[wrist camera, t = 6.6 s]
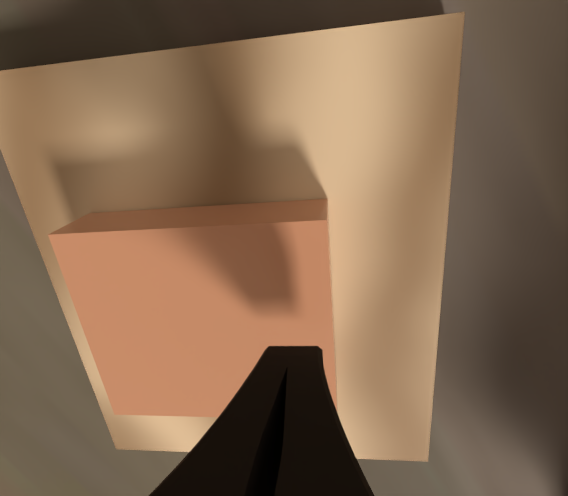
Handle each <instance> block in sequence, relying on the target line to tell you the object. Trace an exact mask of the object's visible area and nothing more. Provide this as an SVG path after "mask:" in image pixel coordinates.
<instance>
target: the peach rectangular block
mask: <svg viewBox="0 0 568 496" xmlns="http://www.w3.org/2000/svg"><path fill="white" fill-rule="evenodd" d="M48 236H49V239H50V242H51V245H52V247H53V250H54V253H55V255H56V258H57V261H58V263H59V266H60V269H61V272H62V274H63V277H64V280H65V282H66V285H67V288H68V290H69V293H70V296H71V299H72V301H73V304H74V307H75V309H76V312H77V315H78V317H79V320H80V323H81V326H82V328H83V331H84V334H85V336H86V339H87V342H88V344H89V347H90V350H91V353H92V355H93V358H94V361H95V363H96V366H97V369H98V371H99V374H100V377H101V380H102V382H103V385H104V388H105V390H106V393H107V396H108V399H109V401H110V404H111V407H112V409H113V412H114V415H147V416H187V417H219V416H220V414H221V413H222V412H223V410H224V409H225V408H226V406H227V405H228V404H229V402H230V401H231V400H232V398H233V397H234V395H235V394H236V393H237V391H238V390H239V389H240V387H241V386H242V384H243V383H244V381H245V380H246V379H247V377H248V376H249V374H250V373H251V371H252V370H253V368H254V367H255V365H256V363H257V362H258V360H259V359H260V357H261V355H262V354H263V352H264V351H265V349H266V348H267V347H268V346H319V347H320V348H321V349H322V350H323V365H324V371H325V375H326V379H327V383H328V387H329V390H330V393H331V396H332V399H333V402H334V405H335V408H336V411H337V372H336V352H335V333H334V313H333V293H332V273H331V253H330V233H329V214H328V199H313V200H296V201H280V202H263V203H247V204H230V205H214V206H197V207H181V208H165V209H148V210H132V211H115V212H99V213H89V214H87V215H85V216H83V217H81V218H79V219H77V220H75V221H73V222H71V223H69V224H67V225H65V226H64V227H62V228H60V229H58V230H56V231H54V232H52V233H50V234H48ZM337 413H338V412H337Z"/></svg>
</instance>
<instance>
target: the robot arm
mask: <svg viewBox="0 0 568 496" xmlns="http://www.w3.org/2000/svg"><path fill="white" fill-rule="evenodd" d="M149 496H374V494H373V492H372V490H371V488H370V486H369V484H368V482H367V480H366V478H365V476H364V474H363V472H362V470H361V468H360V466H359V464H358V461H357V459H356V457H355V455H354V453H353V450H352V448H351V446H350V443H349V441H348V439H347V436H346V434H345V432H344V429H343V427H342V424H341V422H340V419H339V416H338V413H337V411H336V408H335V405H334V402H333V399H332V396H331V393H330V390H329V387H328V383H327V379H326V375H325V371H324V365H323V350H322V349H321V348H320V347H319V346H268V347H267V348H266V349H265V351H264V352H263V354H262V355H261V357H260V359H259V360H258V362H257V363H256V365H255V367H254V368H253V370H252V371H251V373H250V374H249V376H248V377H247V379H246V380H245V381H244V383H243V384H242V386H241V387H240V389H239V390H238V391H237V393H236V394H235V395H234V397H233V398H232V400H231V401H230V402H229V404H228V405H227V406H226V408H225V409H224V410H223V412H222V413H221V414H220V416H219V417H218V418H217V419H216V421H215V422H214V423H213V424H212V426H211V427H210V428H209V429H208V430H207V432H206V433H205V434H204V435H203V437H202V438H201V439H200V440H199V442H198V443H197V444H196V445H195V446H194V447H193V449H192V450H191V451H190V452H189V453H188V454H187V455H186V457H185V458H184V459H183V460H182V461H181V462H180V463H179V464H178V466H177V467H176V468H175V469H174V470H173V471H172V472H171V473H170V474H169V475H168V476H167V477H166V478H165V479H164V480H163V482H162V483H161V484H160V485H159V486H158V487H157V488H156V489H155V490H154V491H153V492H152V493H151V494H150V495H149Z"/></svg>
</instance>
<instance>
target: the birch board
mask: <svg viewBox="0 0 568 496" xmlns="http://www.w3.org/2000/svg"><path fill="white" fill-rule="evenodd" d="M464 16H465V12H460V13H452V14H444V15H436V16H429V17H421V18H413V19H405V20H397V21H389V22H381V23H373V24H365V25H357V26H350V27H342V28H334V29H326V30H318V31H310V32H302V33H294V34H286V35H278V36H270V37H263V38H255V39H247V40H239V41H231V42H223V43H215V44H207V45H199V46H192V47H184V48H176V49H168V50H160V51H152V52H144V53H136V54H128V55H120V56H112V57H105V58H97V59H89V60H81V61H73V62H65V63H57V64H49V65H41V66H34V67H26V68H18V69H10V70H2V71H0V149H1V152H2V154H3V157H4V159H5V162H6V165H7V167H8V170H9V172H10V175H11V178H12V180H13V183H14V185H15V188H16V190H17V193H18V196H19V198H20V201H21V203H22V206H23V209H24V211H25V214H26V216H27V219H28V221H29V224H30V227H31V229H32V232H33V234H34V237H35V240H36V242H37V245H38V247H39V250H40V253H41V255H42V258H43V260H44V263H45V265H46V268H47V271H48V273H49V276H50V278H51V281H52V284H53V286H54V289H55V291H56V294H57V297H58V299H59V302H60V304H61V307H62V309H63V312H64V315H65V317H66V320H67V322H68V325H69V328H70V330H71V333H72V335H73V338H74V341H75V343H76V346H77V348H78V351H79V353H80V356H81V359H82V361H83V364H84V366H85V369H86V372H87V374H88V377H89V379H90V382H91V385H92V387H93V390H94V392H95V395H96V397H97V400H98V403H99V405H100V408H101V410H102V413H103V416H104V418H105V421H106V423H107V426H108V428H109V431H110V434H111V436H112V439H113V441H114V444H115V447H116V449H128V450H153V451H178V452H190V451H191V450H192V449H193V447H194V446H195V445H196V444H197V443H198V442H199V440H200V439H201V438H202V437H203V435H204V434H205V433H206V432H207V430H208V429H209V428H210V427H211V426H212V424H213V423H214V422H215V421H216V419H217V418H218V417H187V416H147V415H114V412H113V409H112V407H111V404H110V401H109V399H108V396H107V393H106V390H105V388H104V385H103V382H102V380H101V377H100V374H99V371H98V369H97V366H96V363H95V361H94V358H93V355H92V353H91V350H90V347H89V344H88V342H87V339H86V336H85V334H84V331H83V328H82V326H81V323H80V320H79V317H78V315H77V312H76V309H75V307H74V304H73V301H72V299H71V296H70V293H69V290H68V288H67V285H66V282H65V280H64V277H63V274H62V272H61V269H60V266H59V263H58V261H57V258H56V255H55V253H54V250H53V247H52V245H51V242H50V239H49V236H48V234H50V233H52V232H54V231H56V230H58V229H60V228H62V227H64V226H65V225H67V224H69V223H71V222H73V221H75V220H77V219H79V218H81V217H83V216H85V215H87V214H89V213H99V212H115V211H132V210H148V209H165V208H181V207H197V206H214V205H230V204H247V203H263V202H280V201H296V200H313V199H328V214H329V233H330V253H331V273H332V293H333V313H334V333H335V352H336V372H337V412H338V416H339V419H340V422H341V424H342V427H343V429H344V432H345V434H346V436H347V439H348V441H349V443H350V446H351V448H352V450H353V453H354V455H355V457H356V459H380V460H405V461H428V453H429V441H430V429H431V417H432V404H433V392H434V380H435V368H436V356H437V344H438V332H439V319H440V307H441V295H442V283H443V271H444V259H445V247H446V234H447V222H448V210H449V198H450V186H451V174H452V162H453V150H454V137H455V125H456V113H457V101H458V89H459V77H460V65H461V52H462V40H463V28H464Z"/></svg>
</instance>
